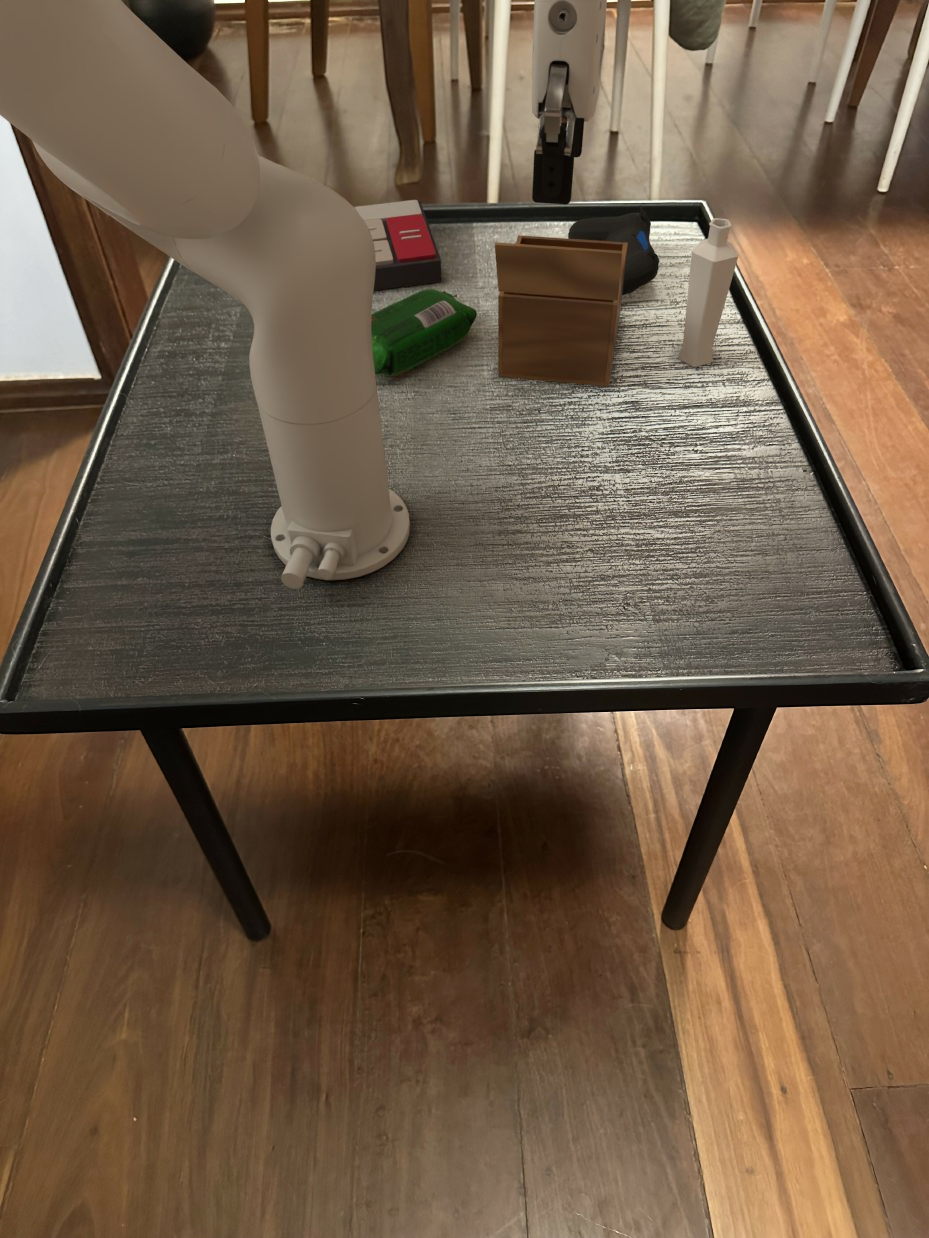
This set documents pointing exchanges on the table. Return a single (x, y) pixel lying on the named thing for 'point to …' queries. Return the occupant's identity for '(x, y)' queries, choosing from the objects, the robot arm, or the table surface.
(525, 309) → the open wooden box
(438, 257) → the calculator
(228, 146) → the robot arm
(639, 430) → the table surface
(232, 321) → the table surface
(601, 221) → the gaming controller
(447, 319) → the snack package
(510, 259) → the flap
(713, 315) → the perfume bottle
